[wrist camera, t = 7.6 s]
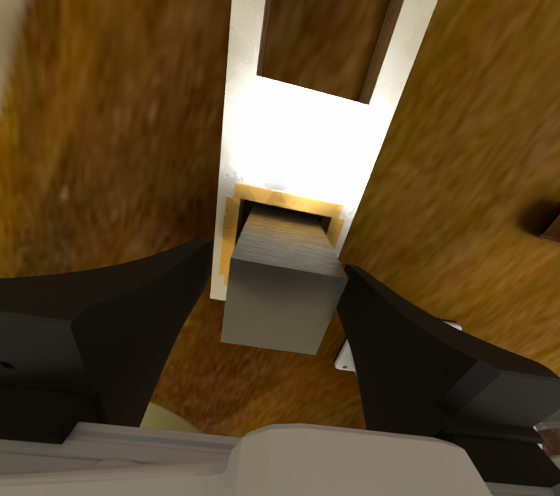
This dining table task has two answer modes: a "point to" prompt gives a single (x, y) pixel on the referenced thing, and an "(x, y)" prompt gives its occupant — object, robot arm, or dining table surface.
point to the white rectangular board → (304, 130)
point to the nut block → (281, 282)
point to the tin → (552, 232)
